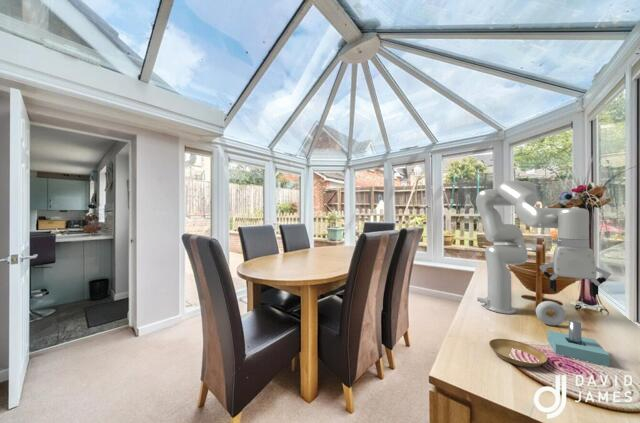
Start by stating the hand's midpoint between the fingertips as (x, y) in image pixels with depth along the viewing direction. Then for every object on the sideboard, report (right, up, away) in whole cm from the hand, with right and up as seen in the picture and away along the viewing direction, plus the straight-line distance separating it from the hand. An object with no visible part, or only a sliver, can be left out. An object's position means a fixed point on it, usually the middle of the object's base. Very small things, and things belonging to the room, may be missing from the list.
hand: (572, 293), depth 85 cm
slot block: (-1, -19, -2) cm, 19 cm away
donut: (+10, -20, +19) cm, 29 cm away
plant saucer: (-24, -19, -6) cm, 31 cm away
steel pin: (-1, -19, -2) cm, 19 cm away
